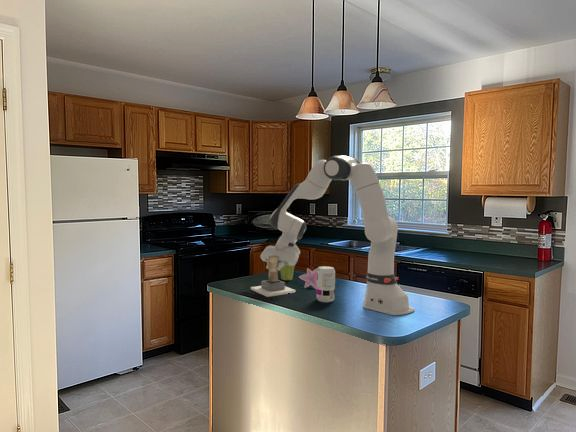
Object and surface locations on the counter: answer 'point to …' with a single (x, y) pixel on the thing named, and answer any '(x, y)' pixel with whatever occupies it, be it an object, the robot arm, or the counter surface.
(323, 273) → the supplement can
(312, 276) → the lily
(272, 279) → the beech peg
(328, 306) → the counter surface
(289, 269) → the plant pot
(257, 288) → the docking plate
